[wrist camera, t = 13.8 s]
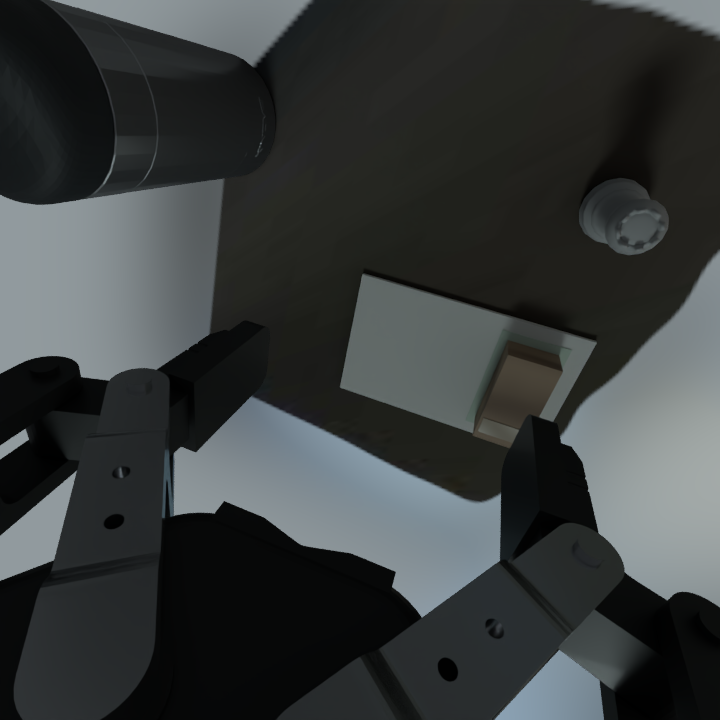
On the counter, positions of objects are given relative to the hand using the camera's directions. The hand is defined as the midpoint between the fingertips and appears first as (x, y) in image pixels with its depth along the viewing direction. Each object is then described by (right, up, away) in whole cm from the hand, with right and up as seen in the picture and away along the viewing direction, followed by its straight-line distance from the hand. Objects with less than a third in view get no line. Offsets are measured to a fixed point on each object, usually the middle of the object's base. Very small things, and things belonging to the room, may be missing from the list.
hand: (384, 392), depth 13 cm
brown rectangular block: (+14, -2, +27) cm, 30 cm away
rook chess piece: (+18, +12, +18) cm, 28 cm away
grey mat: (+8, 0, +28) cm, 29 cm away
